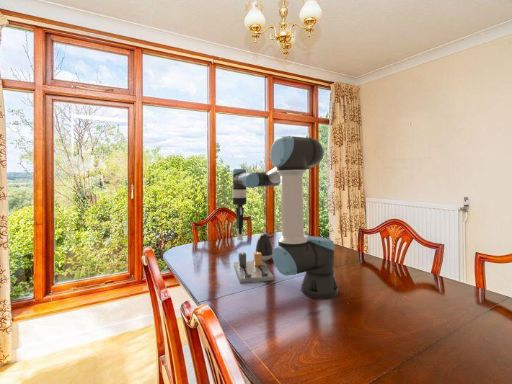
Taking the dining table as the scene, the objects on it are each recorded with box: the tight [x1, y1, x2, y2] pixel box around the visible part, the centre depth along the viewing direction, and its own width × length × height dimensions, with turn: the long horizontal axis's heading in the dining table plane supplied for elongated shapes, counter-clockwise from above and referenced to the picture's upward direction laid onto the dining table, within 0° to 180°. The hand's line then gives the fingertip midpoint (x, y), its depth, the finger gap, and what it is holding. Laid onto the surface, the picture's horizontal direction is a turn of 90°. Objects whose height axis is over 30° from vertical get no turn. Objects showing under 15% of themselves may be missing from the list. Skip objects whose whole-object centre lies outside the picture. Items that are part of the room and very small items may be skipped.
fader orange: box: [253, 252, 262, 266], centre depth 149 cm, size 3×4×6 cm
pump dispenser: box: [255, 233, 274, 262], centre depth 164 cm, size 10×10×15 cm
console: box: [233, 259, 275, 284], centre depth 143 cm, size 24×16×3 cm
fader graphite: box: [238, 251, 247, 266], centre depth 149 cm, size 3×4×6 cm
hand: (239, 239), depth 156 cm, fingers closed
